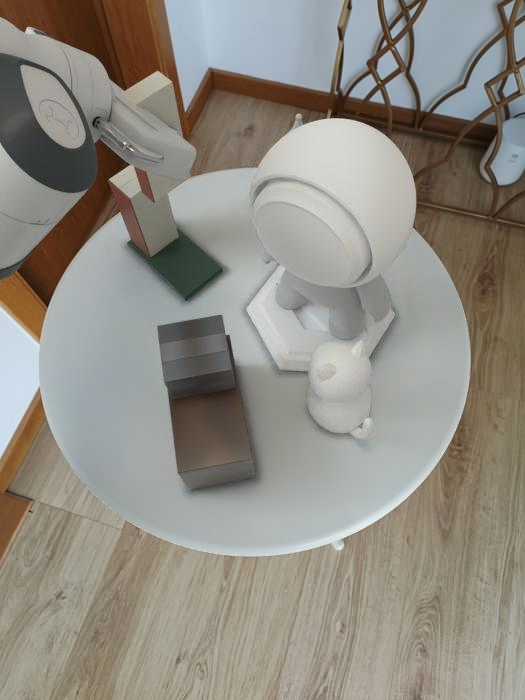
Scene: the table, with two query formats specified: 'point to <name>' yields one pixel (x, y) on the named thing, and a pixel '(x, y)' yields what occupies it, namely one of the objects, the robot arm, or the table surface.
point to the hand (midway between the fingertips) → (165, 129)
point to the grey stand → (205, 403)
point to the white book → (162, 103)
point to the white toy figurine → (328, 237)
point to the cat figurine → (341, 388)
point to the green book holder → (161, 237)
